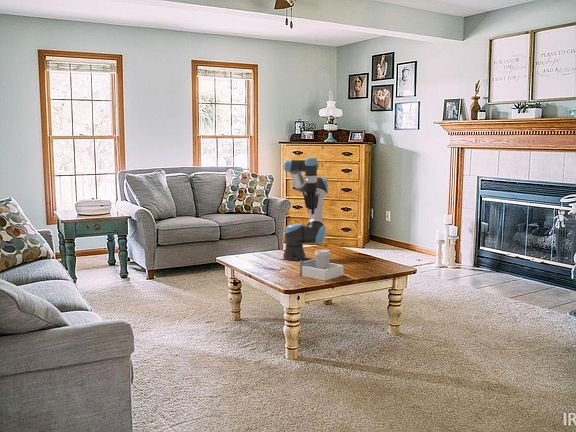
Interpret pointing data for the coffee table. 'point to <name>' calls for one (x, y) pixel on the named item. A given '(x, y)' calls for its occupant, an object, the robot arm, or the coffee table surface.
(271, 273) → the coffee table surface
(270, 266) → the coffee table surface
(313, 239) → the robot arm
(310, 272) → the white open box
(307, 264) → the grey flat plate
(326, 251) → the coffee cup
